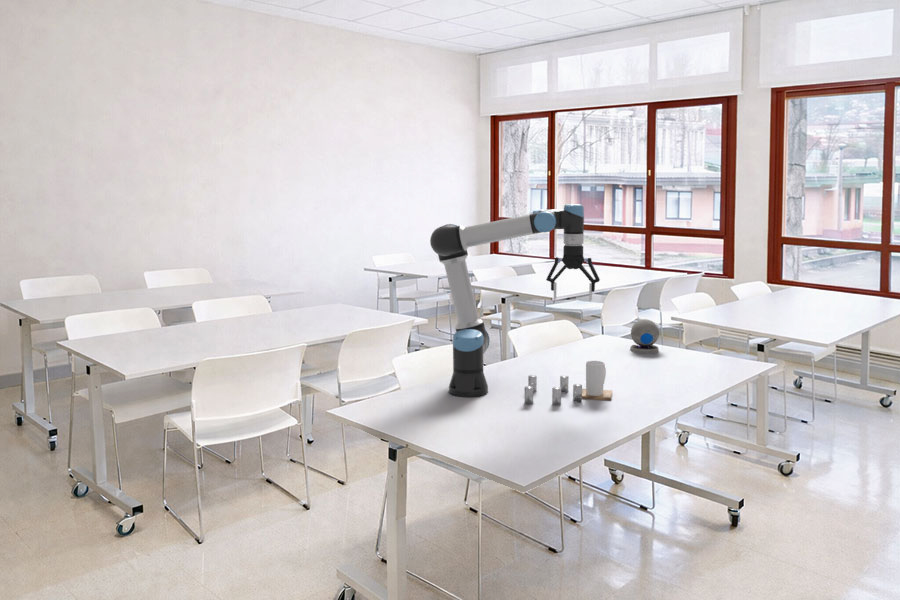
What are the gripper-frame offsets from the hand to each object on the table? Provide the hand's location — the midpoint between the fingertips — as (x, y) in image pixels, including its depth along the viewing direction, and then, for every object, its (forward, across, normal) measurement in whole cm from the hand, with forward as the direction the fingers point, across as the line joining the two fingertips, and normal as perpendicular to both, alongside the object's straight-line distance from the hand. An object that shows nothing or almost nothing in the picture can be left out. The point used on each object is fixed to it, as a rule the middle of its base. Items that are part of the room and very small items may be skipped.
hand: (572, 299), depth 289 cm
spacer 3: (+35, -3, -25) cm, 43 cm away
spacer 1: (+35, -14, -10) cm, 39 cm away
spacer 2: (+35, -13, -26) cm, 45 cm away
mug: (+34, +11, -11) cm, 37 cm away
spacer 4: (+35, -2, -8) cm, 36 cm away
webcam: (+35, +28, +70) cm, 83 cm away
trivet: (+35, +10, -11) cm, 38 cm away
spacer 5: (+35, +4, -19) cm, 40 cm away
